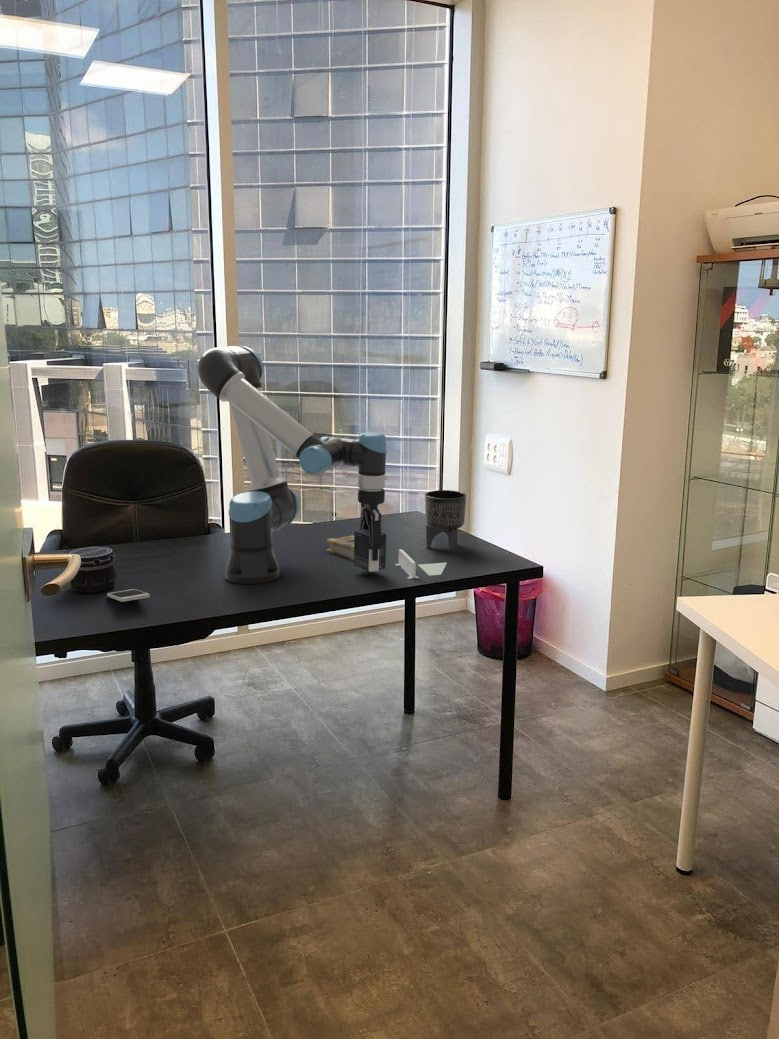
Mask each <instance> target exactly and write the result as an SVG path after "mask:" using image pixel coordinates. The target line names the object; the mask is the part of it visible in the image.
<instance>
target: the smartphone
mask: <svg viewBox="0 0 779 1039" xmlns="http://www.w3.org/2000/svg"><path fill="white" fill-rule="evenodd" d="M106 595H107V597H109V598H110V599H113V600H116V601H118V602H122V603H123V602H124V603H125V602H130V601H134V600H135V601H136V600H140V599H146V598H150V593H148V592H144V591H141V590H139V589H134V588H132V589H127V590H121V591H119V590H118V591H114V592H113V591H112V592H108V593H106Z"/></svg>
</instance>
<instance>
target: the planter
mask: <svg viewBox="0 0 779 1039" xmlns="http://www.w3.org/2000/svg"><path fill="white" fill-rule="evenodd" d="M424 502H425V505H424V506H425V508H424V509H425V511H424V512H425V524H426V525H425V539H426V540H425V542H426V545H425V546H426V549H428V550H430V549H431V548H432V543H433V541H434V538H435V537H436V536H437V535H438V534H440V533H443V532H444V533H445V534H446V536H447V540H448V545H450V551H451V552H452V553H456V552H457V551H458V535H459V532H458V531H459V529H461V528H462V527H464V526H465V522H466V519H465V518H466V509H467V508H466V506H467V505H466V504H467V494H466V493H465V492H462V491H458V490H451V489H447V490H446V489H445V490H443V489H439V490H431V491H428V492H425V493H424Z"/></svg>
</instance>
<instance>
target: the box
mask: <svg viewBox="0 0 779 1039" xmlns="http://www.w3.org/2000/svg"><path fill="white" fill-rule="evenodd" d="M353 536H354V561H353V566H354V567H357V568H359V569H361V570H364V571H367V572H370V573H372V572H375V571H369V550H368V547H370V537H369V529H361V530H359V529H356V530H354V535H353ZM381 543H382V548H381V549H379V571H382V570H386V552H387V550H386V549H387V533H385V532H382V531H381ZM375 545H376V544H375Z"/></svg>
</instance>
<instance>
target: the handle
mask: <svg viewBox="0 0 779 1039" xmlns="http://www.w3.org/2000/svg"><path fill="white" fill-rule="evenodd" d="M416 565H417V563H416V562H415V561H414V559H413V558H411V557H410V555H409V554H408V553H406V551H404V550H403V549H398V563H395V565H394V566H396V567H400V566H401V567H400V568H401V570H403V571H404V572H405V573H406V574H407V575H408V576H407V579H408V580H412V579H413V580H415V578H416V579H420V577H419V576H418V575H416V572H417V571H416V570H417V569H416V568H417V566H416Z"/></svg>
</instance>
